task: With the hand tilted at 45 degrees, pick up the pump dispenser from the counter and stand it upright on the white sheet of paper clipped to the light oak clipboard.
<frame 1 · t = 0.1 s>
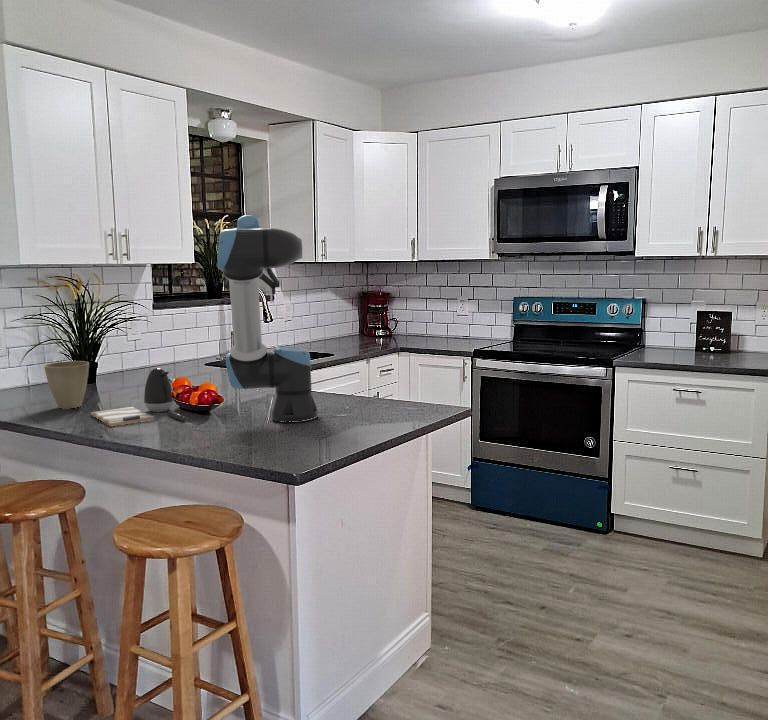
hand: (253, 301, 283), 36 cm above the countertop, tool tilted 35°, fingers open, 13 cm apart
black marker: (176, 418, 247), on the countertop
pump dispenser: (160, 411, 259), on the countertop
plant pot: (70, 408, 268), on the countertop
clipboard: (122, 418, 249), on the countertop
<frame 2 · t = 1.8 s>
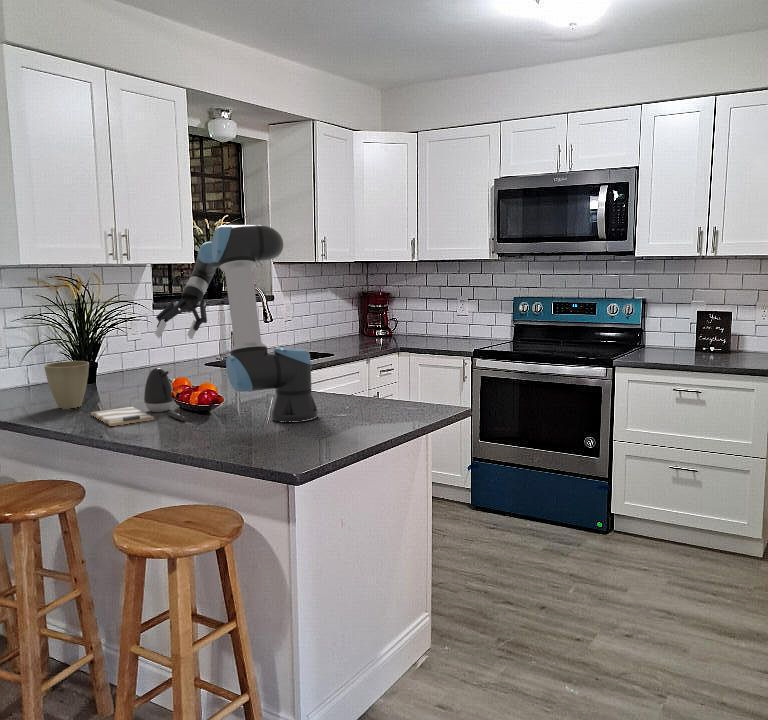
hand: (173, 336, 266), 25 cm above the countertop, tool tilted 45°, fingers open, 13 cm apart
nothing on the countertop moved.
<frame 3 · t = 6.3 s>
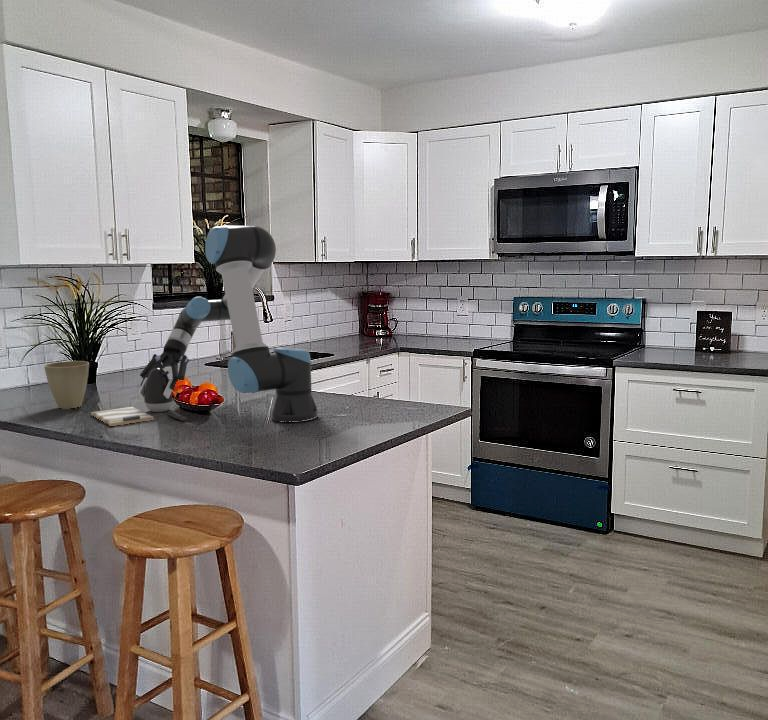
hand: (153, 395, 256), 6 cm above the countertop, tool tilted 45°, fingers closed on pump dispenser, 9 cm apart
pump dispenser: (160, 411, 259), on the countertop, touching gripper
everything else where it was.
when the fingers open (9 cm above the countertop, at t = 11.9 s): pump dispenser drops 1 cm, resting on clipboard.
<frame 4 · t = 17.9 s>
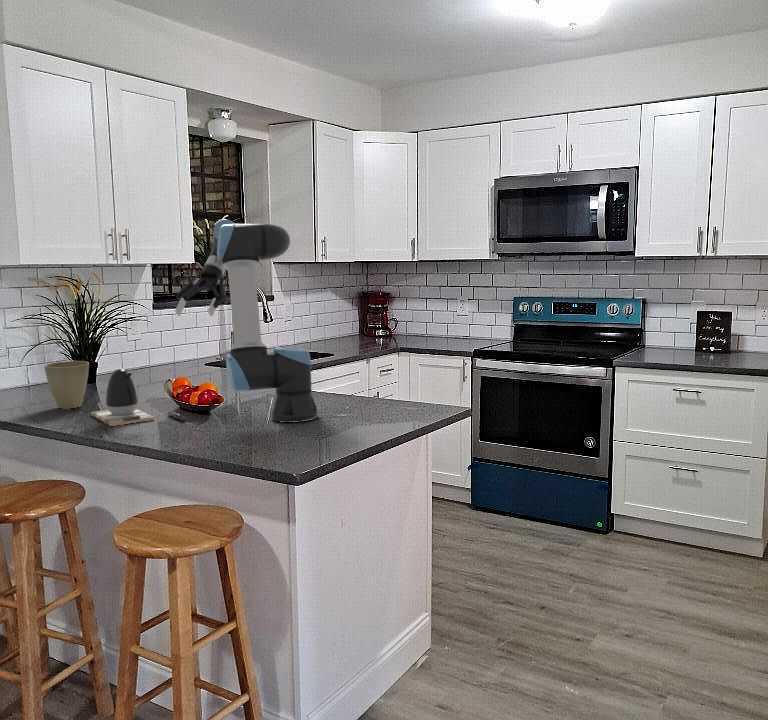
hand: (193, 313, 268), 33 cm above the countertop, tool tilted 45°, fingers open, 13 cm apart
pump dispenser: (123, 414, 249), point 1 cm above the countertop, touching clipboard
everything else where it was.
at the end: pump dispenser inside the target area on the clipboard (0.4 cm from its centre), point 1.2 cm above the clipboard's base; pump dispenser tilted 0°; the gripper is holding nothing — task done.
